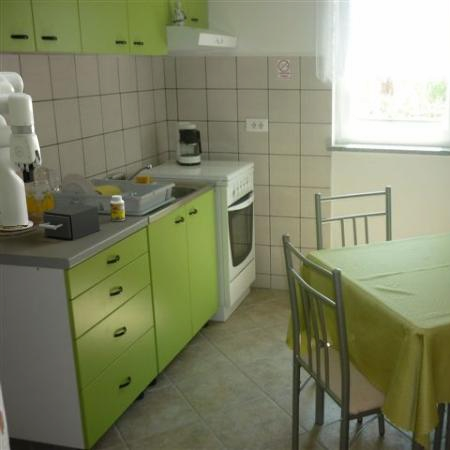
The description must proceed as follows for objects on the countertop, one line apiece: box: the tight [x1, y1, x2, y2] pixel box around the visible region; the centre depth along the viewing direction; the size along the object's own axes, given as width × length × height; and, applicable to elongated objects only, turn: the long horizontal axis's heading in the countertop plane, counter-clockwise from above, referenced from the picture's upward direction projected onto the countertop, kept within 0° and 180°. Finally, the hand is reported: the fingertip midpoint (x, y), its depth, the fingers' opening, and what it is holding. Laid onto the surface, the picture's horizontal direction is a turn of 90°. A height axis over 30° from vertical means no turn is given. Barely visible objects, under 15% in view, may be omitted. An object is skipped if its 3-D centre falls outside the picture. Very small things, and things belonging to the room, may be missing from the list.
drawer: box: [38, 214, 72, 239], centre depth 220 cm, size 18×11×8 cm, turn 159°
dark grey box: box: [43, 203, 100, 241], centre depth 224 cm, size 15×13×10 cm
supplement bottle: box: [109, 194, 126, 222], centre depth 243 cm, size 6×6×10 cm
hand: (28, 182), depth 208 cm, fingers closed
